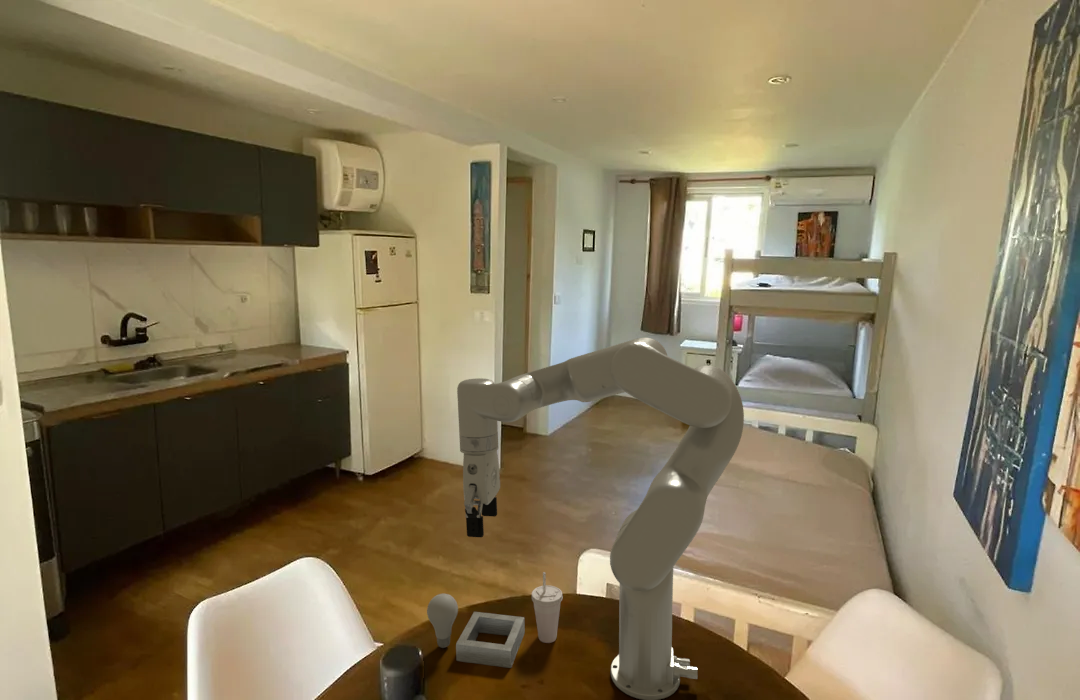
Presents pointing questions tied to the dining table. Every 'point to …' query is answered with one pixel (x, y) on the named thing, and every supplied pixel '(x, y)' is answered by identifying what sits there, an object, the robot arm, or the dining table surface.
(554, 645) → the dining table surface
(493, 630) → the socket block
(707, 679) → the dining table surface
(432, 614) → the lightbulb
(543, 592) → the smoothie
